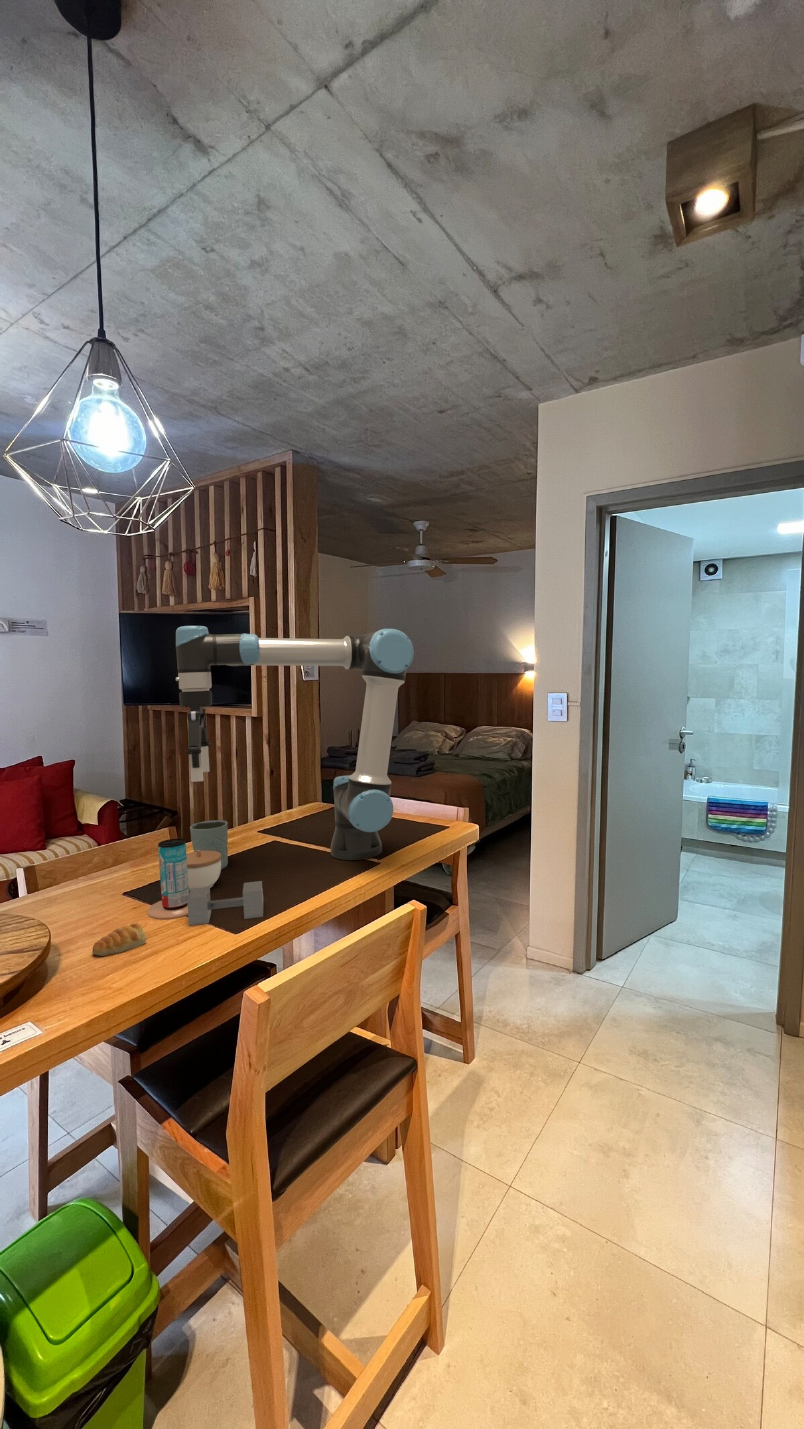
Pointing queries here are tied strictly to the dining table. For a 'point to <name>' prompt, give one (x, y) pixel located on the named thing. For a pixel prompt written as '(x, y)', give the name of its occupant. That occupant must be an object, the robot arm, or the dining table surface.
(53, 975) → the dining table surface
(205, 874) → the lidded jar
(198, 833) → the green plant pot
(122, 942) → the pastry
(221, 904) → the dumbbell
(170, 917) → the coaster
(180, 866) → the beverage can
